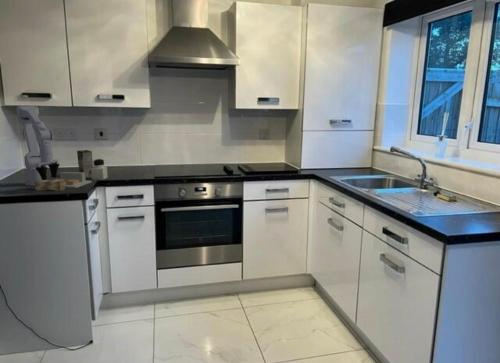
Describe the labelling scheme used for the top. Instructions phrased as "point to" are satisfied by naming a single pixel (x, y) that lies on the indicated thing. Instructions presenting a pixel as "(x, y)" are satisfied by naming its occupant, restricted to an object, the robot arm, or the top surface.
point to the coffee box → (85, 162)
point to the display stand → (73, 179)
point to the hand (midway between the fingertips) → (49, 178)
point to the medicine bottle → (99, 170)
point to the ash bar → (50, 185)
